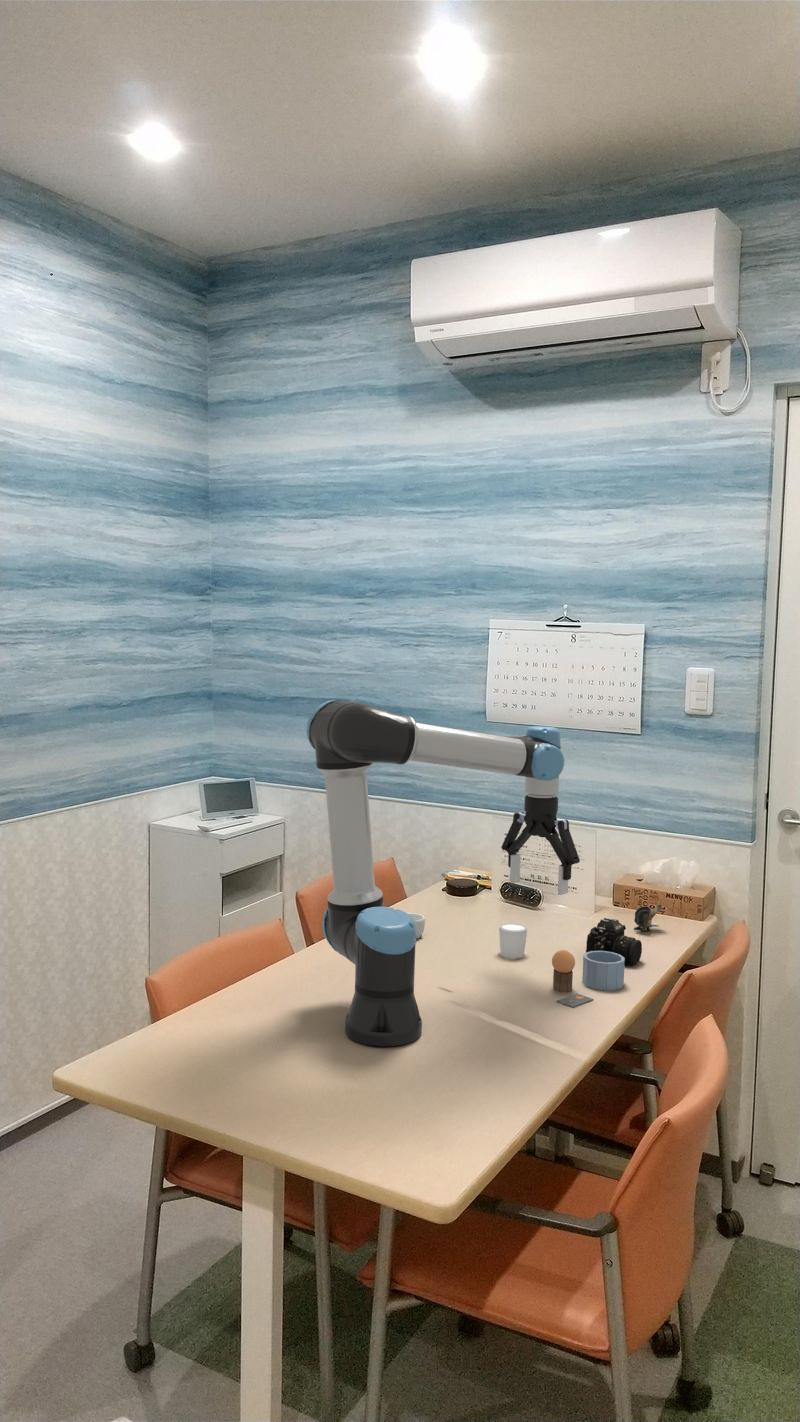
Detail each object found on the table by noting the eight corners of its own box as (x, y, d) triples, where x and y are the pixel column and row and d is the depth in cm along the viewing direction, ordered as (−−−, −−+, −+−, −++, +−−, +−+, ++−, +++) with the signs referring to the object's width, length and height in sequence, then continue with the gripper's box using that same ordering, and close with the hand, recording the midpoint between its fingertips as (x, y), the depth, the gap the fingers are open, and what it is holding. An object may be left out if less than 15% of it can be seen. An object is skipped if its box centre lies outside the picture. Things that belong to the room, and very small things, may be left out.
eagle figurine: (653, 942, 253) (655, 908, 252) (627, 937, 257) (628, 903, 256) (663, 936, 259) (665, 902, 258) (637, 931, 263) (639, 897, 262)
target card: (572, 1007, 205) (573, 1005, 205) (556, 1001, 209) (556, 1000, 209) (593, 1000, 210) (593, 998, 210) (576, 994, 213) (576, 992, 213)
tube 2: (607, 993, 215) (608, 966, 214) (574, 982, 221) (575, 955, 221) (631, 984, 221) (632, 958, 220) (598, 974, 227) (599, 948, 227)
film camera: (637, 977, 226) (639, 934, 225) (583, 970, 230) (584, 928, 229) (644, 954, 243) (645, 915, 242) (593, 948, 247) (594, 909, 246)
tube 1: (563, 993, 214) (564, 975, 214) (549, 988, 217) (550, 970, 217) (575, 989, 217) (576, 971, 216) (561, 984, 220) (561, 966, 219)
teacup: (405, 931, 257) (405, 911, 257) (430, 936, 253) (430, 916, 253) (383, 940, 249) (383, 919, 249) (408, 946, 245) (409, 924, 244)
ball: (564, 978, 213) (565, 955, 213) (546, 972, 217) (547, 950, 216) (579, 973, 216) (580, 951, 216) (561, 967, 220) (562, 945, 220)
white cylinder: (527, 960, 236) (529, 931, 235) (499, 959, 236) (500, 930, 236) (524, 951, 243) (525, 923, 242) (496, 950, 243) (497, 922, 242)
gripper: (597, 800, 216) (594, 896, 218) (508, 787, 234) (506, 875, 235) (577, 804, 211) (574, 901, 213) (488, 789, 229) (485, 880, 230)
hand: (538, 888), depth 224 cm, fingers open, 13 cm apart
